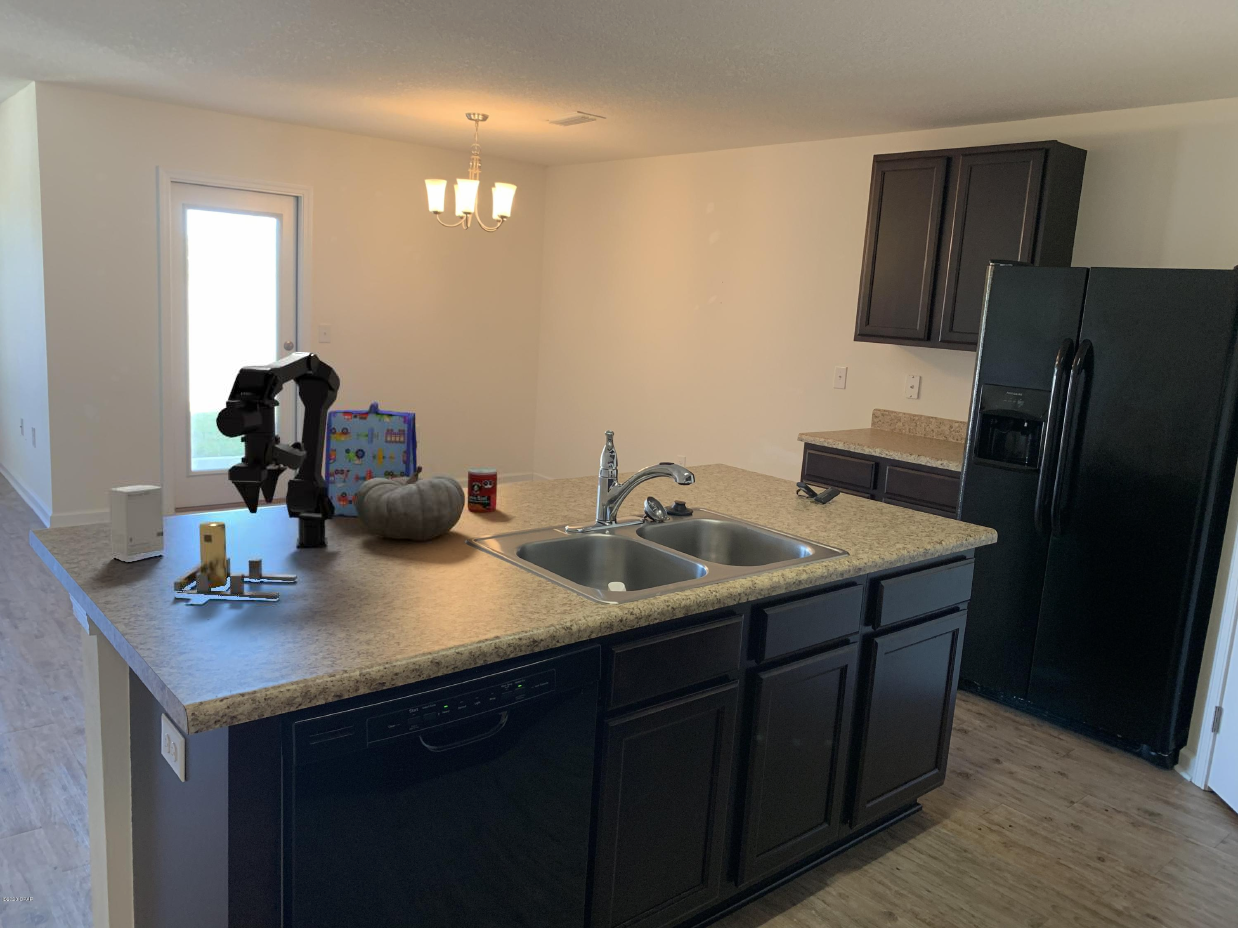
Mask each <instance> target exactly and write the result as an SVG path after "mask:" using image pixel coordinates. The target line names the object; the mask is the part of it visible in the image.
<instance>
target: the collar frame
mask: <svg viewBox="0 0 1238 928" xmlns="http://www.w3.org/2000/svg"><path fill="white" fill-rule="evenodd" d="M262 559H263V558H254V557H253V558H250V559H248V572H247V573H246V572H245V573H243V572H242V573H239V572H236V573H235V572H231V557H226V566H227V578H228V577H230V588H229V591H228V590H226V591H211V580H210V573H204V572H201V563H200V564H197V565H196V566H194V567H192V568H191V569H190V570H189V571H187V572H185V573H183V575H181V576H180V577H179V578H177V579H176V580H174V581H173V590H174V591H182V592H177V593H187V594H204V595H218V596H219V595H220V596H237V597H238V596H239V597H249V598H266V599H277V598H279V599H280V592H267V591H266V592H263V591H245V582H244V578H249V579H255V580H256V579H257V580H260V579H267V580H282V581H294V582H295V580H296V579H297V580H298V574H276V573H273V574H272V573H263V564H262V563H263V561H262ZM194 581H196V586H195V588H196V590H197V591H196V590H195V589H193V590H192V589H191V590H182V589H184V588H185V587H186V586H188V585H190V584H191V583H193V582H194ZM295 583H296V582H295ZM174 591H173V592H174ZM183 591H184V592H183Z"/></svg>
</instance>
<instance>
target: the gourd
mask: <svg viewBox="0 0 1238 928" xmlns="http://www.w3.org/2000/svg"><path fill="white" fill-rule="evenodd" d="M421 472H423V467H422V466H420V465H418V466H417V471H415V472H414V474H412V475H411V476H410V477H398V478H392V479H386V478H374V479H370V480H368V481H366V482H364V483H363V484H362V485H361V486H360V488H359V489H358V492H357V495H356V500H355V507H356V511H357V514H358V516H357V517H358V518H359V520H360V522H361V523H362V525H364V527H365V528H366V529H367V530H368V531H370V533H371V534H373V535H374V536H377V537H380V538H392V539H397V540H402V539H405V540H406V539H410V540H412V541H416V542H418V541H419V542H424V541H428V540H431V539H435V538H436V537H437V536H441V535H444V534H445V533H447V532H449V531H450V530H452V529H453V528H454V527H455V526H456V525H457V524H458V522H459V520H460V519H461V516H462V513H463V512H464V508H465V505H466V495H465V491H464V489H463V488H462V486H461V484H460V483H459V482H458V481H457V480H456V479H455V478H453V477H451V476H450V475H445V474H436V475H433V476H431V477H428V478H421V477H419V475H420V474H421Z"/></svg>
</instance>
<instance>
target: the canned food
mask: <svg viewBox="0 0 1238 928" xmlns="http://www.w3.org/2000/svg"><path fill="white" fill-rule="evenodd" d="M497 488H498V470H497V469H496V468H493V467H484V466H483V467H482V466H479V467H478V466H477V467H472V468H468V471H467V509H468V511H470V512H472V513H492V512H494V511H495V510H496V509H497V500H498V499H497V495H498V494H497V493H498V489H497Z"/></svg>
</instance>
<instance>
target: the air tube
mask: <svg viewBox="0 0 1238 928" xmlns="http://www.w3.org/2000/svg"><path fill="white" fill-rule="evenodd" d="M198 527H199V549H200V550H199V552H200V554H199V557H200V558H199V559H200V564H201V572H204V573H210V580H211V588H216V587H220V586H225V585H226V584H227V566H226V558H227V544H226V543H227V541H226V539H227V538H226V523H225V522H222V521H207V522H203V523H200V524H199V525H198Z"/></svg>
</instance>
